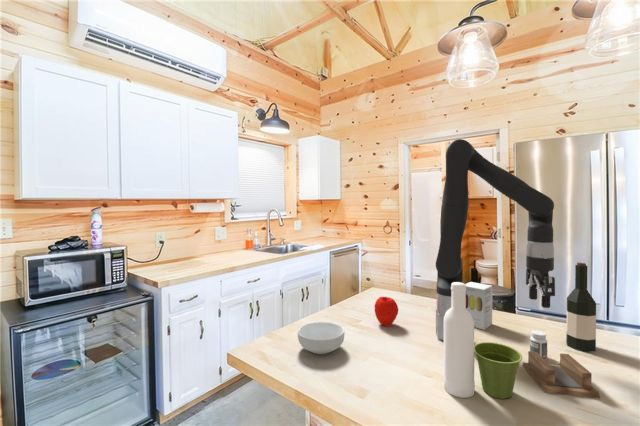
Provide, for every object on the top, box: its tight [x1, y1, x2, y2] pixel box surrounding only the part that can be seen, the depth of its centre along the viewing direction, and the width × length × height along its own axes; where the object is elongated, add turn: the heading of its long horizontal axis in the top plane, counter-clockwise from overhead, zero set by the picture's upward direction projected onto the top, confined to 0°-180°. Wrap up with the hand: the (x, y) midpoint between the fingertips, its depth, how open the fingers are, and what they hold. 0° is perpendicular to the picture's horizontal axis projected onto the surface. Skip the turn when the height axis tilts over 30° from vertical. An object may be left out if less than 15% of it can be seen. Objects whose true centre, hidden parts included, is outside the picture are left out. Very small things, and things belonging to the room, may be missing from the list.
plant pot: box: [474, 341, 523, 400], centre depth 86 cm, size 12×12×11 cm
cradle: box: [522, 350, 601, 398], centre depth 90 cm, size 13×14×6 cm
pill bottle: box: [529, 330, 548, 361], centre depth 104 cm, size 5×5×8 cm
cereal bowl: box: [297, 321, 345, 355], centre depth 113 cm, size 17×17×7 cm
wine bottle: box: [565, 262, 597, 353], centre depth 110 cm, size 8×8×30 cm
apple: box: [374, 296, 399, 327], centre depth 134 cm, size 10×10×12 cm
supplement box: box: [464, 281, 493, 331], centre depth 133 cm, size 10×9×17 cm
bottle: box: [442, 282, 476, 399], centre depth 86 cm, size 8×8×30 cm
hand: (539, 303), depth 104 cm, fingers open, 8 cm apart
